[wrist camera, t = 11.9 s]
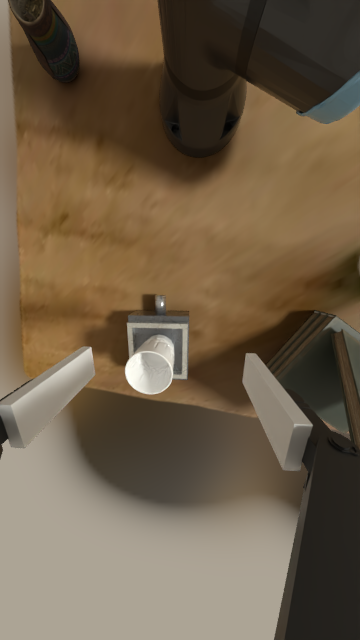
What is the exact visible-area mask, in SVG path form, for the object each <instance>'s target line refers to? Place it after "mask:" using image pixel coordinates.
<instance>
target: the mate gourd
mask: <svg viewBox="0 0 360 640" xmlns="http://www.w3.org/2000/svg"><path fill="white" fill-rule="evenodd" d="M8 2H9V5H10V8H11V10H12V12H13V14H14V16H15V17H16V19H17V20H18V22H19V24H20V25H21V27H22V28H23V30H24V32H25V34H26V36H27V38H28V40H29V42H30V45H31V47H32V49H33V51H34V53H35V55H36V57H37V59H38V61H39V62H40V64H41V65H42V67H43V68H44V69H45V70H46V71H47V72H48V73H49V74H50V75H51V76H52V77H53V78H54V79H56V80H58V81H60V82H70V81H72V80H73V79H74V78H75V77H76V75H77V73H78V70H79V53H78V48H77V45H76V42H75V38H74V35H73V33H72V30H71V28H70V26H69V25H68V23H67V21H66V20H65V18H64V17H63V15H62V14H61V13H60V11H59V10H58V9H57V7H56V6H55V5H54V4H53V2H52V1H51V0H8Z"/></svg>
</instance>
